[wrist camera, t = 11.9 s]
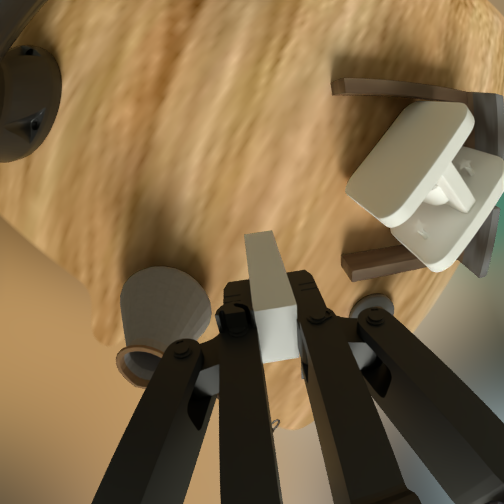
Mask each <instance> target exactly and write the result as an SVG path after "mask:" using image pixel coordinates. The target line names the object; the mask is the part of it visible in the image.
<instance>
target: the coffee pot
mask: <svg viewBox="0 0 504 504" xmlns="http://www.w3.org/2000/svg"><path fill="white" fill-rule="evenodd" d="M120 306H121V314H122V321H123V328H124V334H125V341H126V347H125V348H123V349H121V350H120V352H119V353H118V354H117V357H116V365H117V368H118V370H119V372H120V373H121V374H122V375H123V377H124V378H125V379H126V380H128V381H129V382H130V383H131V384H132V385H134V386H135V387H139V388H143V389H146V387H147V385H148V383H149V381H150V379H151V377H152V375H153V373H154V372H155V370H156V368H157V366H158V364H159V362H160V360H161V358H162V356H163V354H164V352H165V350H166V349H167V347H168V346H169V345H170V344H171V343H173V342H174V341H176V340H179V339H185V338H190V339H194V340H196V341H197V339H198V338H199V337H200V336H201V335H202V334H203V333H204V332H205V330H206V328H207V327H208V325H209V323H210V319H211V314H212V312H211V304H210V300H209V298H208V296H207V294H206V292H205V290H204V289H203V288H202V287H201V285H200V284H199V283H198V282H197V281H196V280H195V279H194V278H193V277H191V276H190V275H189V274H187V273H185V272H183V271H181V270H178V269H176V268H171V267H166V266H154V267H150V268H146V269H143V270H140V271H138V272H137V273H135V274H134V275H132V276H131V277H130V278H129V279H128V280H127V281H126V283H125V284H124V285H123V289H122V292H121V295H120ZM216 398H217V399H219V393H217V397H216ZM276 421H278V424H277V425H276V426H275V428H272V431H273V432H274V430H275V429H276V428H277V427H278V425H279V423H280V420H278V419H277V420H274V421H273V422H272V423H271V424H273V423H274V422H276Z"/></svg>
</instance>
